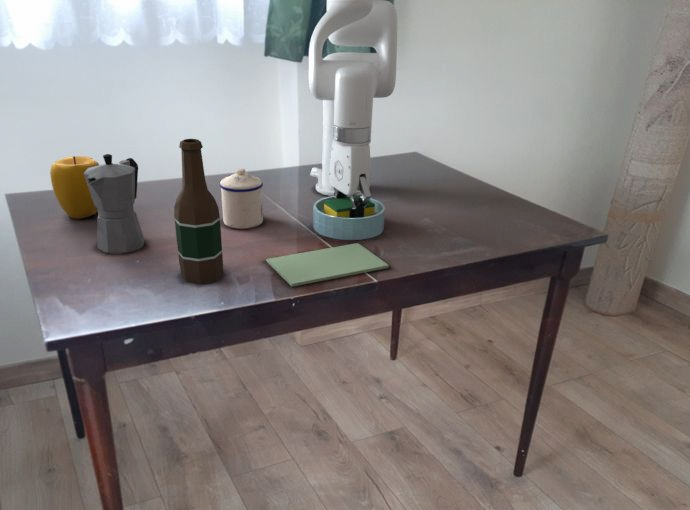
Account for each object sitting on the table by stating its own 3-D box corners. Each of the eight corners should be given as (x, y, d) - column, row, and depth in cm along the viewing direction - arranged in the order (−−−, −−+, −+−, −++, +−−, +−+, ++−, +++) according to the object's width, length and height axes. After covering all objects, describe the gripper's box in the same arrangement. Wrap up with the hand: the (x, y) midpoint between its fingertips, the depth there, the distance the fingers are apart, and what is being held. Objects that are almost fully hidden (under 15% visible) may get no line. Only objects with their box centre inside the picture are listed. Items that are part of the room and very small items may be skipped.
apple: (111, 220, 138) (101, 161, 131) (58, 225, 135) (46, 165, 128) (107, 204, 147) (98, 148, 140) (58, 209, 144) (46, 152, 137)
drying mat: (291, 286, 112) (291, 283, 111) (266, 261, 121) (266, 258, 120) (388, 268, 119) (388, 265, 119) (357, 245, 128) (358, 242, 128)
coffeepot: (123, 261, 120) (108, 165, 110) (81, 254, 122) (62, 160, 113) (164, 233, 132) (154, 145, 123) (125, 227, 135) (112, 141, 125)
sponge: (336, 234, 132) (337, 209, 129) (323, 225, 137) (324, 200, 134) (373, 228, 136) (375, 203, 133) (359, 219, 140) (361, 195, 137)
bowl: (299, 231, 135) (299, 208, 132) (337, 212, 145) (338, 190, 143) (360, 247, 128) (361, 224, 125) (396, 226, 138) (397, 204, 136)
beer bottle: (182, 266, 118) (169, 134, 105) (224, 266, 119) (216, 134, 106) (178, 285, 111) (162, 146, 99) (222, 284, 112) (213, 146, 100)
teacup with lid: (271, 224, 138) (270, 171, 132) (234, 232, 133) (231, 177, 127) (244, 209, 146) (242, 158, 140) (209, 216, 142) (205, 164, 135)
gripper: (316, 126, 131) (315, 210, 141) (356, 146, 118) (352, 237, 128) (348, 124, 134) (345, 206, 144) (390, 142, 121) (384, 231, 130)
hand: (348, 219), depth 135 cm, fingers closed on sponge, 6 cm apart
